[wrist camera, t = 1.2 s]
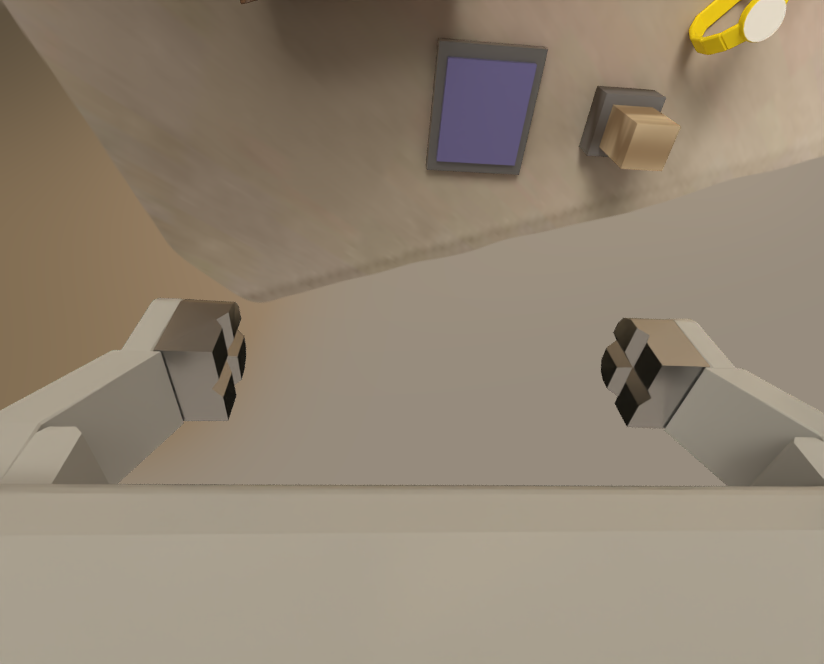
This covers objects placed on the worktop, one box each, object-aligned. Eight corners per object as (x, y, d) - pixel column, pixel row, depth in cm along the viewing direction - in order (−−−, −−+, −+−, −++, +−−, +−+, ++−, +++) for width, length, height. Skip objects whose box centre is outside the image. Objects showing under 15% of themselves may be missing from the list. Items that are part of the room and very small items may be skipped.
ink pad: (438, 38, 37) (440, 41, 36) (544, 46, 37) (549, 50, 36) (425, 165, 43) (427, 171, 42) (516, 170, 44) (520, 176, 43)
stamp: (597, 85, 40) (631, 111, 34) (653, 89, 40) (696, 115, 35) (578, 146, 43) (607, 178, 38) (631, 149, 43) (667, 181, 38)
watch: (745, -42, 35) (806, -43, 30) (758, -9, 36) (819, -5, 31) (671, 27, 37) (717, 37, 32) (685, 56, 38) (732, 69, 34)
